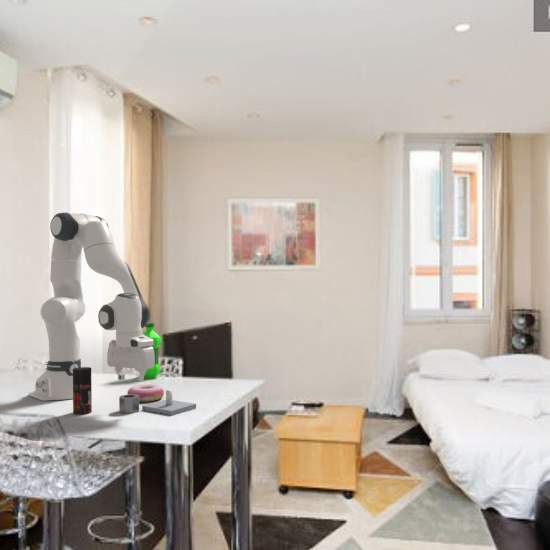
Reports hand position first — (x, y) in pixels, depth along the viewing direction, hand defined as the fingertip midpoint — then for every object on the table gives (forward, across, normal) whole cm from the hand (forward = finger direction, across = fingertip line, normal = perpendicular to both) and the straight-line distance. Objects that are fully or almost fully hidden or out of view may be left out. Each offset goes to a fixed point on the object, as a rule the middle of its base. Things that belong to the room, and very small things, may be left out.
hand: (130, 380), depth 188 cm
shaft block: (+11, +9, +8) cm, 16 cm away
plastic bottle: (+10, -42, +49) cm, 65 cm away
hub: (+10, -1, 0) cm, 10 cm away
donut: (+11, -10, +16) cm, 21 cm away
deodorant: (+10, -13, -10) cm, 19 cm away
